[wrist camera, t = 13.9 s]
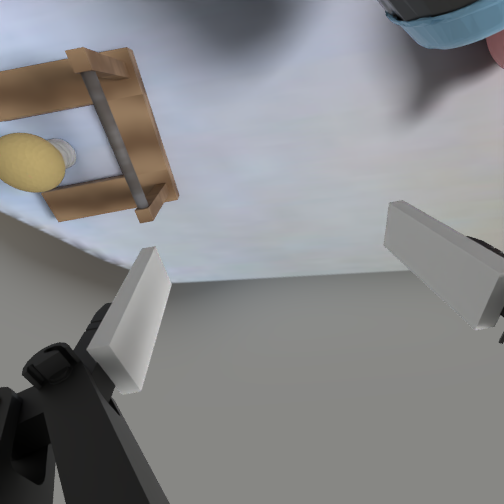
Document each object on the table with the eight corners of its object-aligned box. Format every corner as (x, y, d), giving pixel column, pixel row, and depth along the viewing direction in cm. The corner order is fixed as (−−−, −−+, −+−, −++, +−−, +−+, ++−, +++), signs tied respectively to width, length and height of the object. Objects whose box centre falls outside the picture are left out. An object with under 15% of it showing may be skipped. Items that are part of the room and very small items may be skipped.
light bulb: (34, 120, 33) (-34, 128, 24) (88, 134, 34) (42, 147, 26) (40, 169, 36) (-19, 191, 27) (89, 181, 37) (49, 205, 29)
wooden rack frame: (-17, 78, 30) (-141, 68, 20) (132, 50, 30) (84, 25, 20) (65, 216, 40) (10, 258, 29) (179, 195, 39) (163, 229, 29)
